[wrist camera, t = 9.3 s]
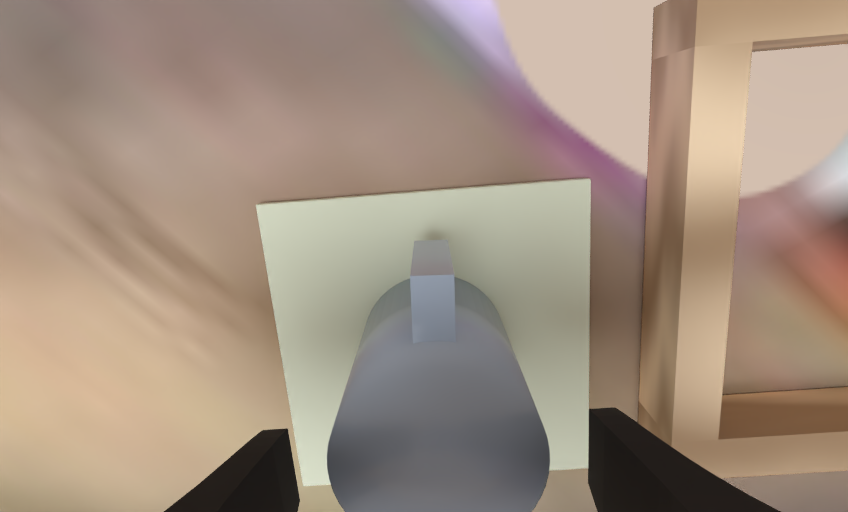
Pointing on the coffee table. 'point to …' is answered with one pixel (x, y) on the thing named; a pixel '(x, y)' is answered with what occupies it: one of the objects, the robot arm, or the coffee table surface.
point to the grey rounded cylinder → (436, 404)
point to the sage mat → (472, 261)
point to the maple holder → (718, 242)
